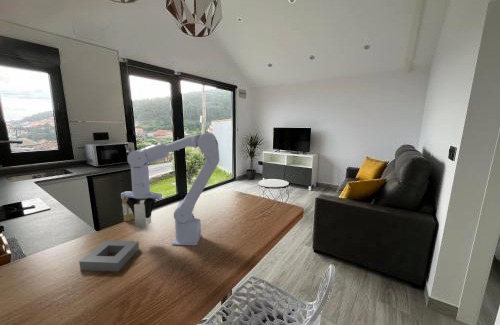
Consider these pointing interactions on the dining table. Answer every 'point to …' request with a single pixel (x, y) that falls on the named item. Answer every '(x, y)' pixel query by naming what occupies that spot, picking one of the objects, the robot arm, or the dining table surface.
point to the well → (109, 263)
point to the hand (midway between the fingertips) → (142, 216)
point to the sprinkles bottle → (127, 210)
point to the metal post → (141, 215)
